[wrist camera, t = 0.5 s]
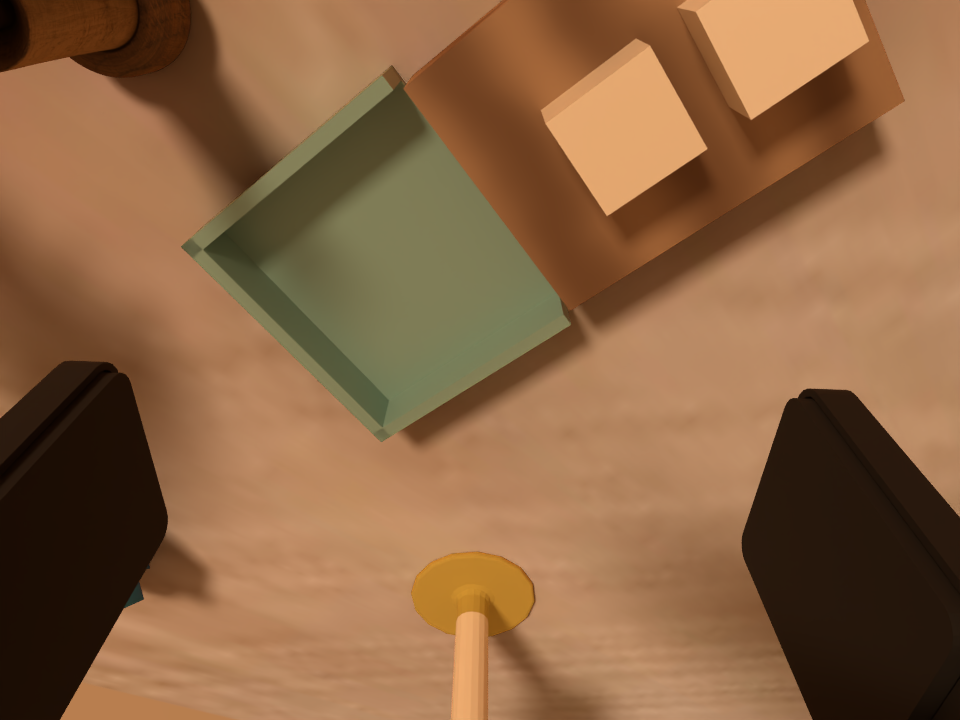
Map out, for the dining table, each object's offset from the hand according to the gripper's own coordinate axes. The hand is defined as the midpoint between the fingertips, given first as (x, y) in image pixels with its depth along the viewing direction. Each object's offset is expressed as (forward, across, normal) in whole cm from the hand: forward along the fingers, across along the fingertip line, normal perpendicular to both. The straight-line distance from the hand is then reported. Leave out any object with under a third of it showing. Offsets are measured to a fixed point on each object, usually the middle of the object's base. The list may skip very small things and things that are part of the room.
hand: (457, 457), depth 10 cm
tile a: (+24, -12, -5) cm, 27 cm away
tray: (+28, +5, +9) cm, 30 cm away
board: (+28, -8, -2) cm, 30 cm away
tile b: (+24, -6, 0) cm, 25 cm away
